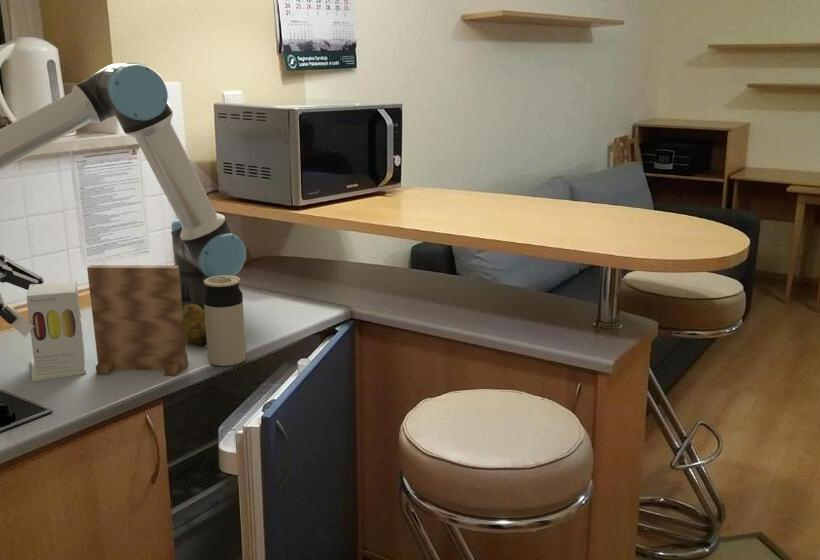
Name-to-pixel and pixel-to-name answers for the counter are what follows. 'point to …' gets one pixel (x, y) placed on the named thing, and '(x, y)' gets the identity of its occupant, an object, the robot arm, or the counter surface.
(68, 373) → the sticky note pad
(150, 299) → the screen
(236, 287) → the travel mug
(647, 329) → the counter surface
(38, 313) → the supplement box
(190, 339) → the potato
